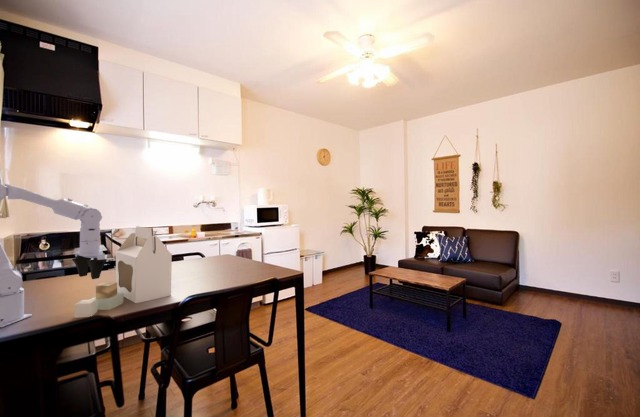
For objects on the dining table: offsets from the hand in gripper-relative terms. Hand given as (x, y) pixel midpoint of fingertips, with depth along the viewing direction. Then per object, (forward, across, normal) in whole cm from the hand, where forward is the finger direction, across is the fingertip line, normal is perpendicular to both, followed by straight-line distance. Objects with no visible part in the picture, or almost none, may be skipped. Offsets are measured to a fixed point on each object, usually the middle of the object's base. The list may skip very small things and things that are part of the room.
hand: (89, 277), depth 105 cm
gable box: (+10, -5, -18) cm, 21 cm away
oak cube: (+6, -7, -2) cm, 10 cm away
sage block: (+11, -7, -2) cm, 13 cm away
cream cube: (+10, -9, +6) cm, 15 cm away
